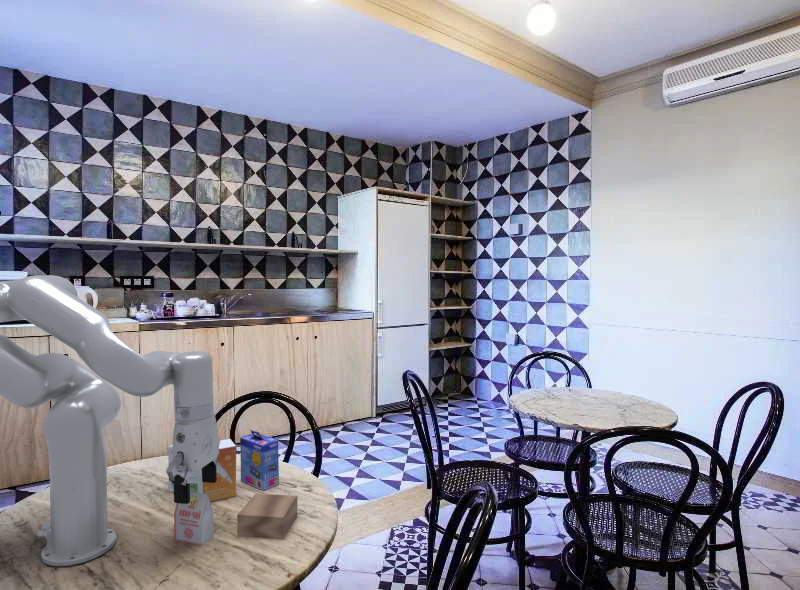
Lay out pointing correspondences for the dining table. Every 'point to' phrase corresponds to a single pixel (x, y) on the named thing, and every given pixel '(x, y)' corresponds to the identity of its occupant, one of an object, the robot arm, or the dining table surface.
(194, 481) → the ink box
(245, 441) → the ink cartridge box
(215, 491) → the small box
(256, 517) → the base block
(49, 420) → the robot arm
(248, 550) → the dining table surface
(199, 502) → the white carton
